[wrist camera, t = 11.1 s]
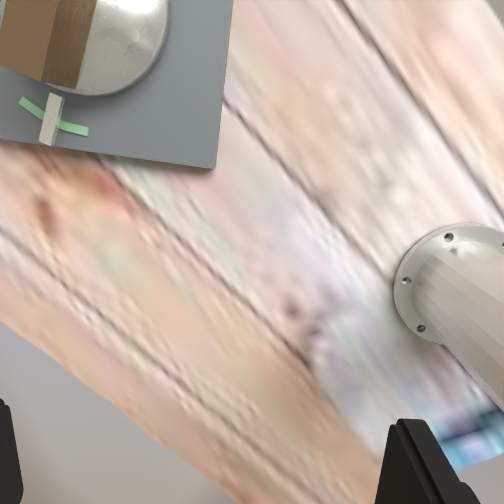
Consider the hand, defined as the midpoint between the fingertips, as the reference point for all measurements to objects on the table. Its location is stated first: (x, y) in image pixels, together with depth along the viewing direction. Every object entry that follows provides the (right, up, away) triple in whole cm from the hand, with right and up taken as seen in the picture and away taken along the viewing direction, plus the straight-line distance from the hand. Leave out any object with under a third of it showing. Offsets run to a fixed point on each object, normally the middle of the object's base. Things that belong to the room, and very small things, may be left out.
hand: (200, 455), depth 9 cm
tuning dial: (-12, +22, +21) cm, 33 cm away
